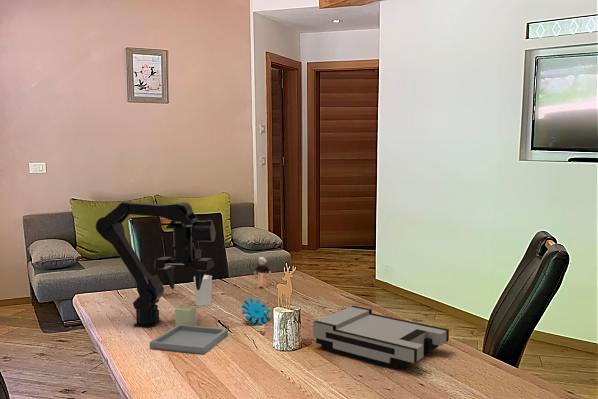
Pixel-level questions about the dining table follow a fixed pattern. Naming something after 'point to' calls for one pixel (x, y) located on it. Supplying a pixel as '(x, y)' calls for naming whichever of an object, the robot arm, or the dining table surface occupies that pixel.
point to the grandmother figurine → (262, 273)
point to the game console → (377, 337)
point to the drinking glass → (203, 291)
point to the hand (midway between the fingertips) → (185, 289)
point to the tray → (189, 339)
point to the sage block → (185, 315)
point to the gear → (255, 311)
